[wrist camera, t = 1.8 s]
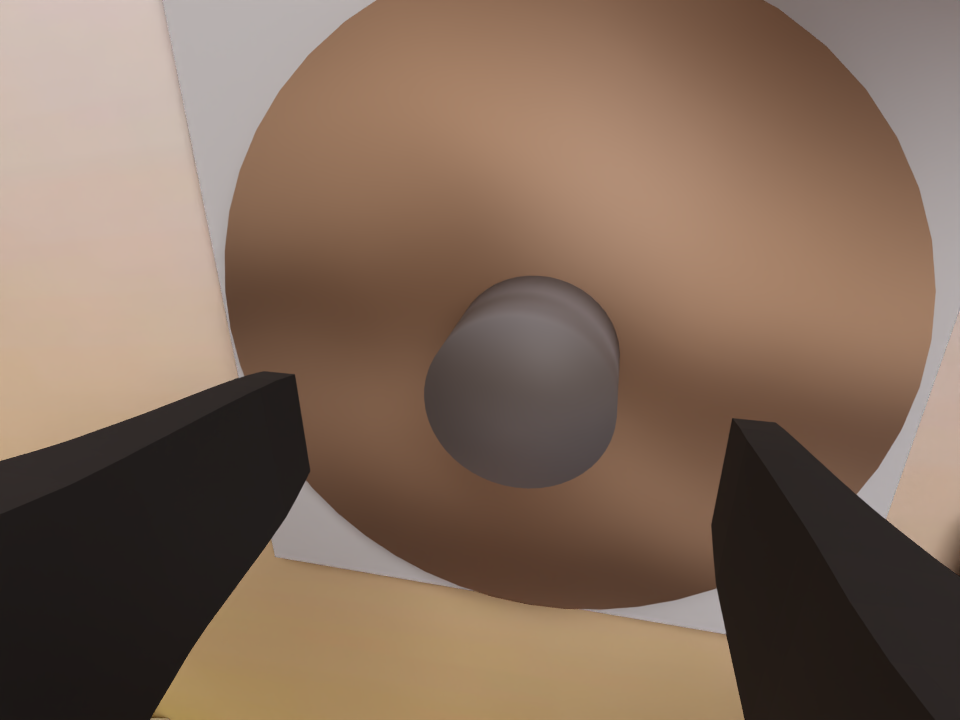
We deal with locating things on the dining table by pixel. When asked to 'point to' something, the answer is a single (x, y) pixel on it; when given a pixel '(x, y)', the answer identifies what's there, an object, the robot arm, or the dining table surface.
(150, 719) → the flower vase
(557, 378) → the walnut lid
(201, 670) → the dining table surface
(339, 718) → the dining table surface
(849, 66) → the grey mat
